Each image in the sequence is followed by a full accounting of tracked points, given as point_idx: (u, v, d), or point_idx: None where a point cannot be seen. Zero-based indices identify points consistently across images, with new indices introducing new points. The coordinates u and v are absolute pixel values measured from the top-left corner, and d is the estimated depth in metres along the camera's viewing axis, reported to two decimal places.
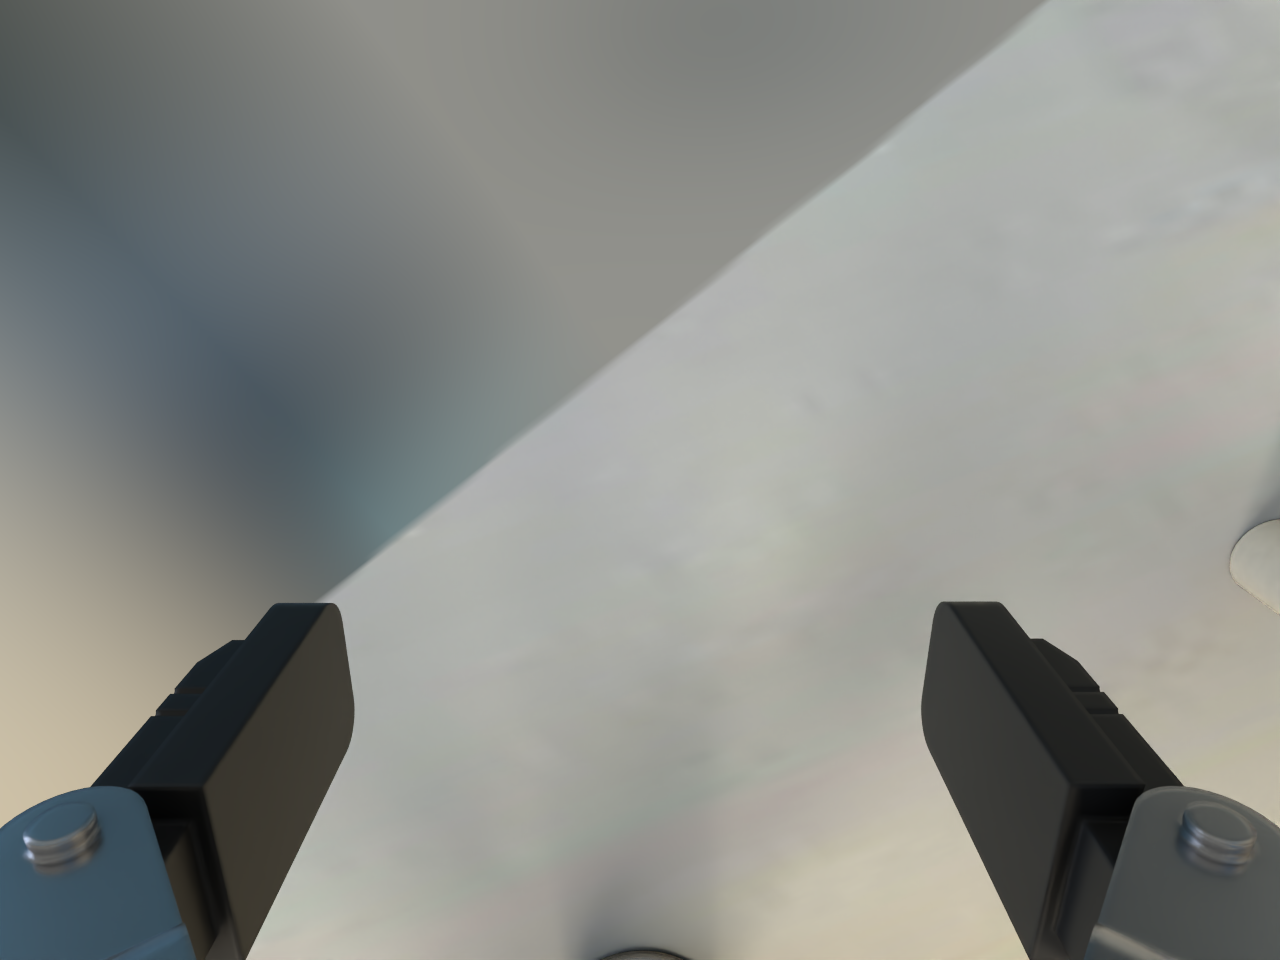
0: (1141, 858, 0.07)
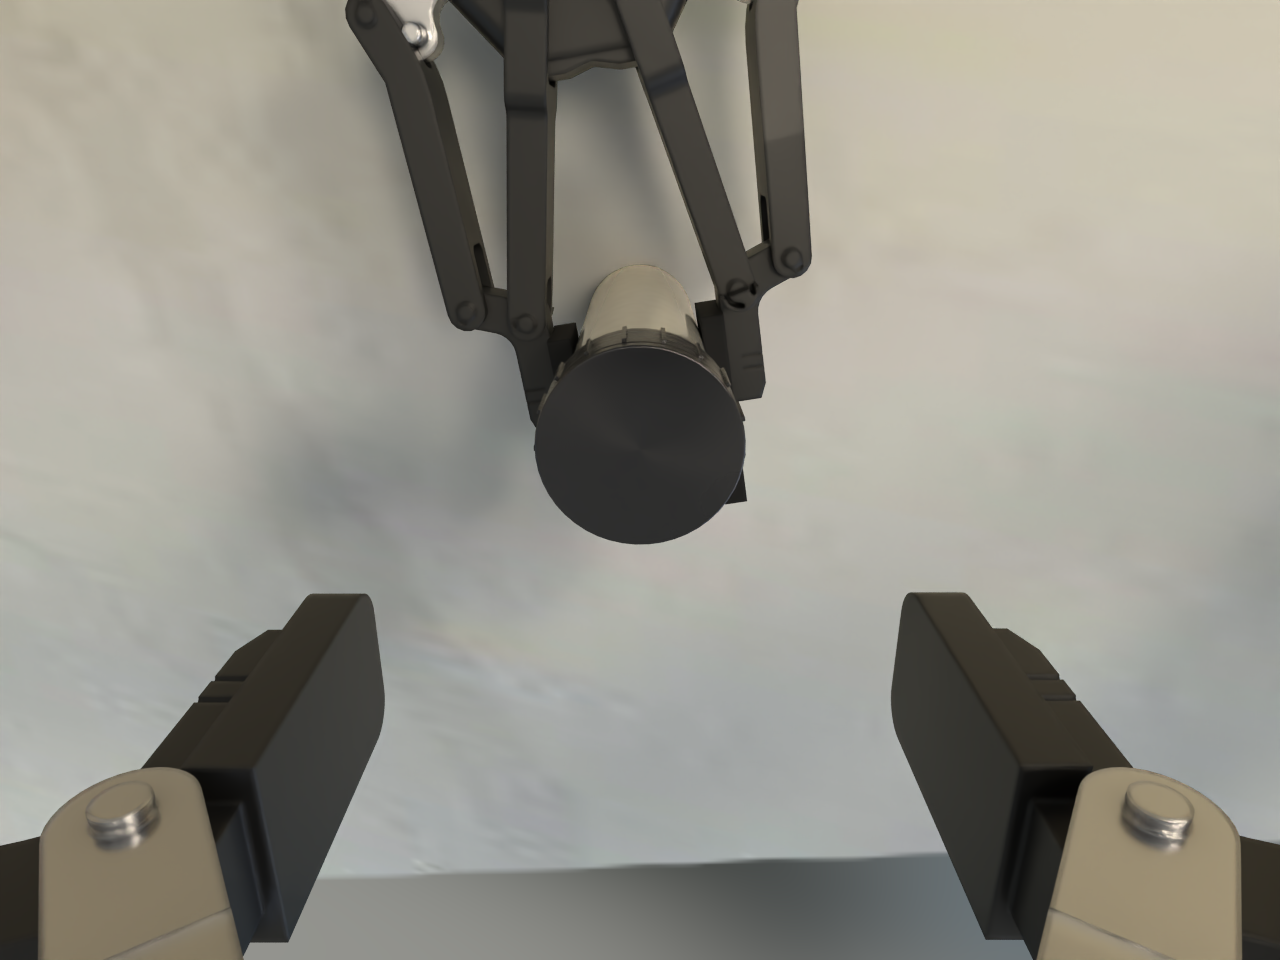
0: (1088, 839, 0.07)
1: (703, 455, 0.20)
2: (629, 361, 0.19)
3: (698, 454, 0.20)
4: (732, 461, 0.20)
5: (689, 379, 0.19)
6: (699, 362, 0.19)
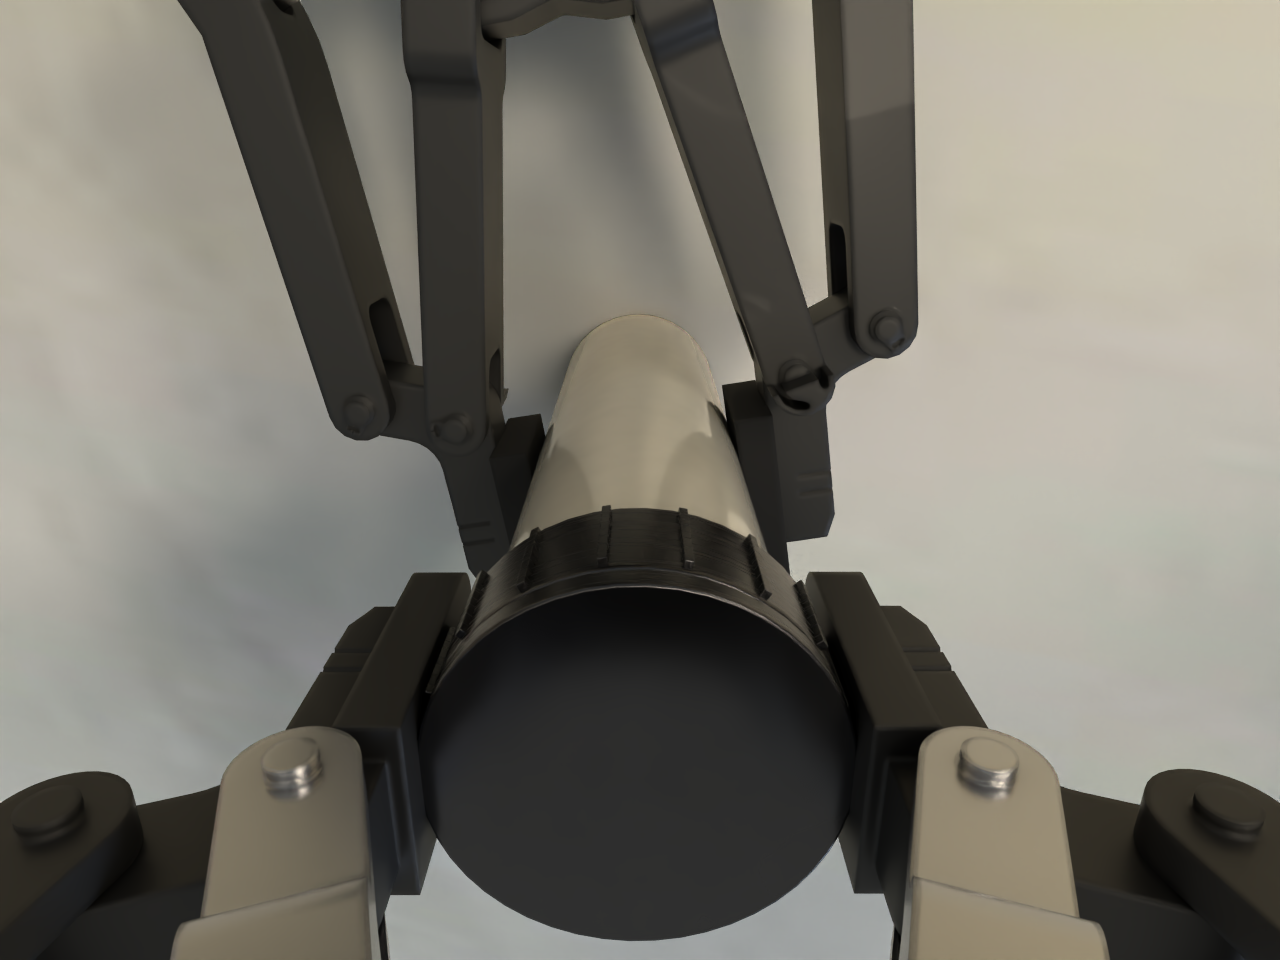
0: (934, 801, 0.07)
1: (769, 790, 0.09)
2: (613, 615, 0.09)
3: (759, 788, 0.09)
4: (829, 801, 0.09)
5: (744, 650, 0.09)
6: (766, 615, 0.09)
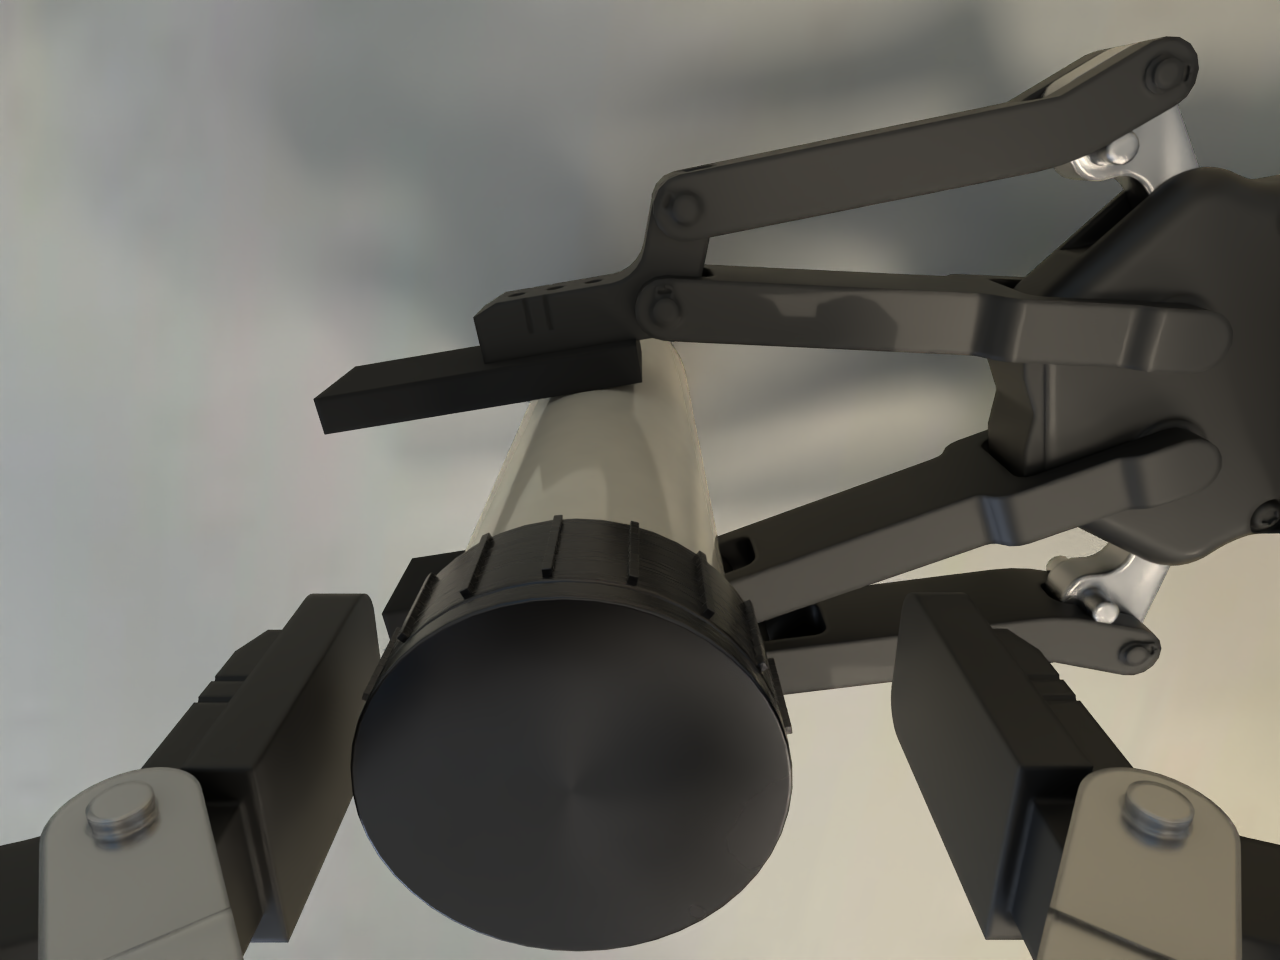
0: (1087, 840, 0.07)
1: (702, 768, 0.09)
2: (482, 642, 0.09)
3: (692, 769, 0.09)
4: (766, 763, 0.09)
5: (619, 641, 0.09)
6: (628, 601, 0.09)
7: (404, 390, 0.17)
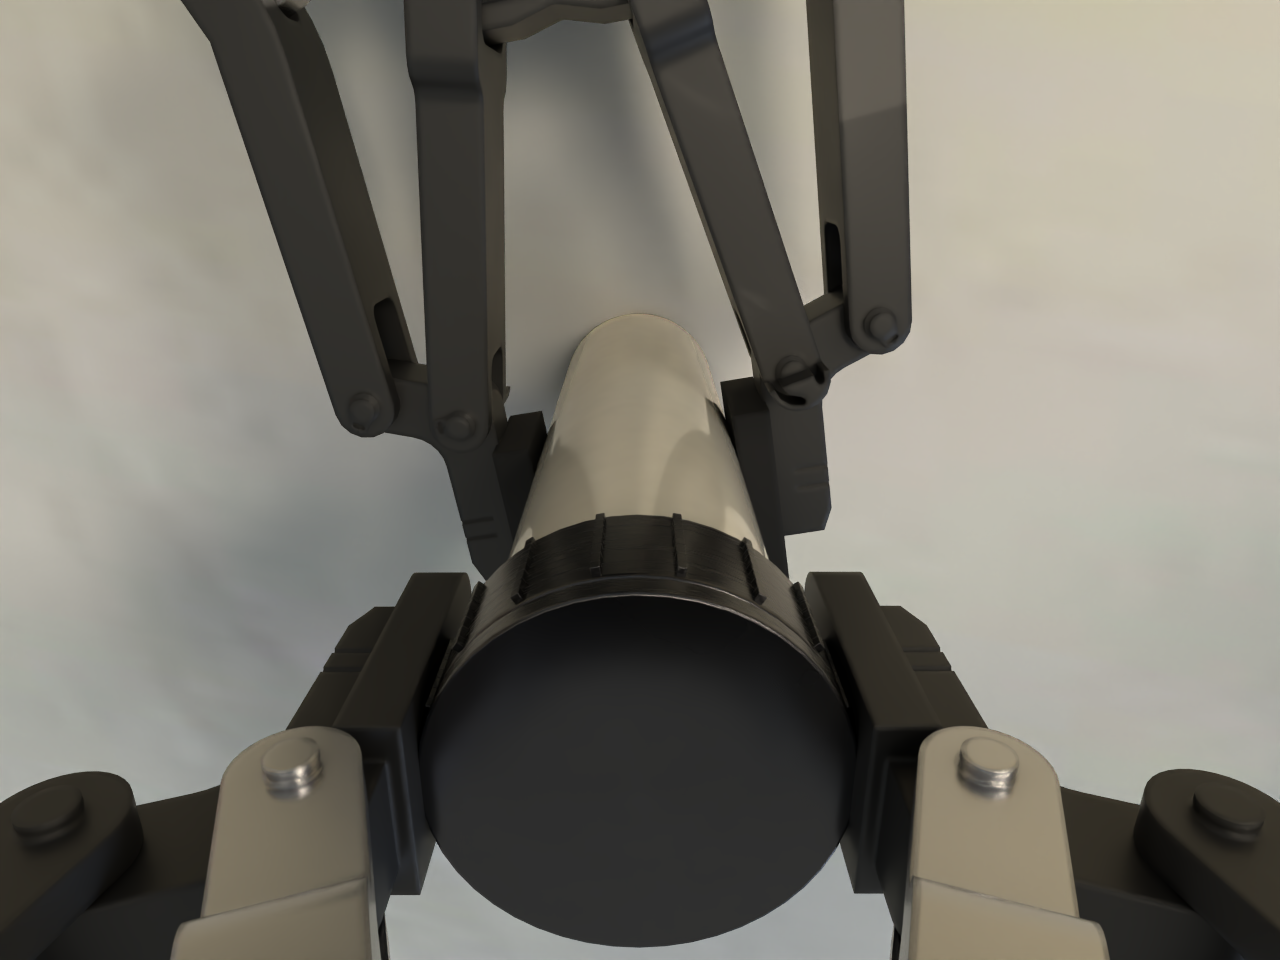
0: (933, 802, 0.07)
1: (608, 677, 0.09)
2: (471, 847, 0.10)
3: (609, 686, 0.09)
4: (600, 619, 0.09)
5: (459, 748, 0.09)
6: (422, 735, 0.09)
7: None
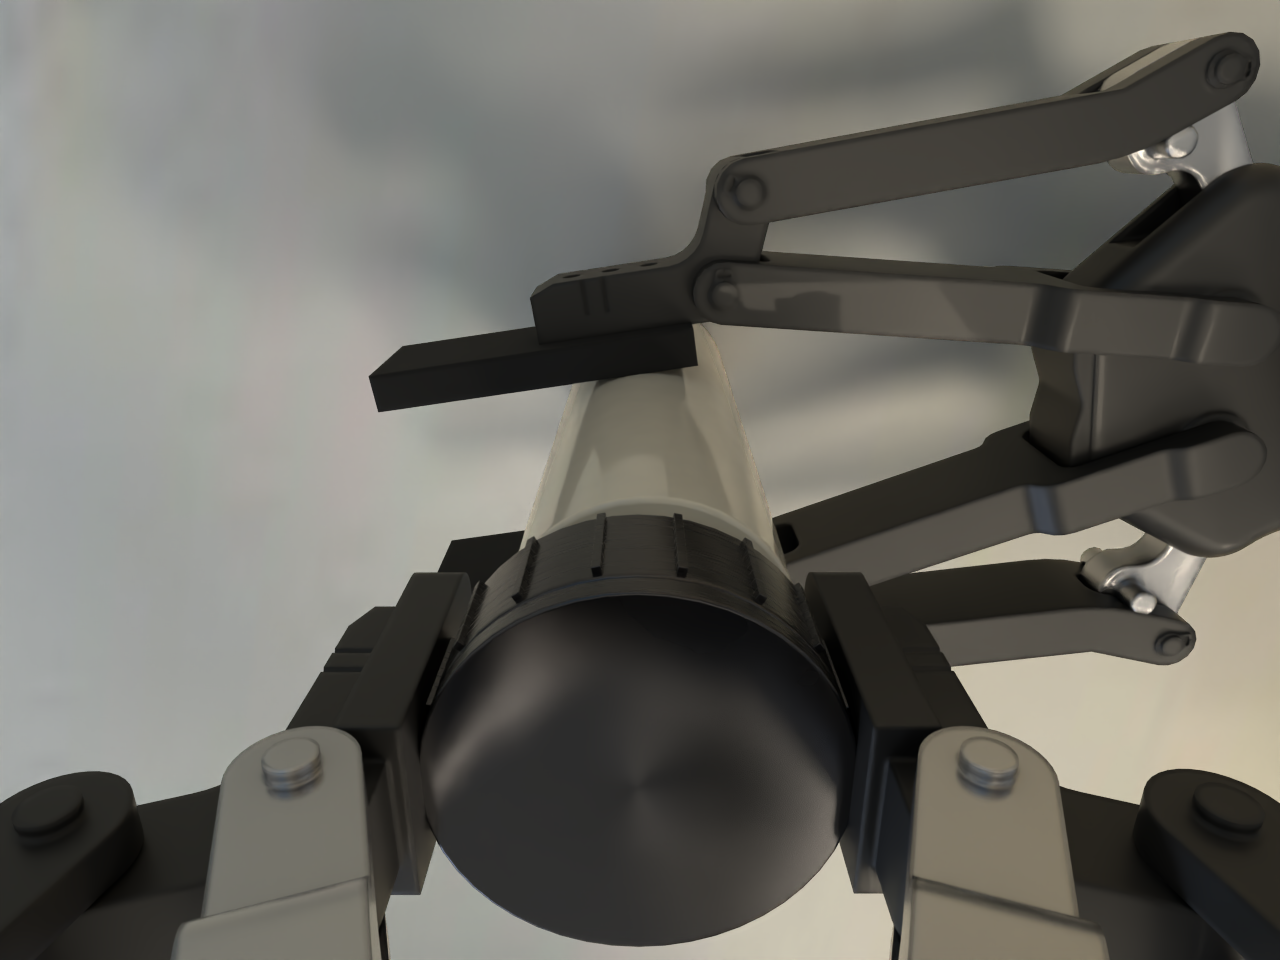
0: (933, 801, 0.07)
1: (608, 676, 0.09)
2: (471, 846, 0.10)
3: (610, 685, 0.09)
4: (601, 618, 0.09)
5: (460, 747, 0.09)
6: (422, 733, 0.09)
7: (460, 368, 0.17)
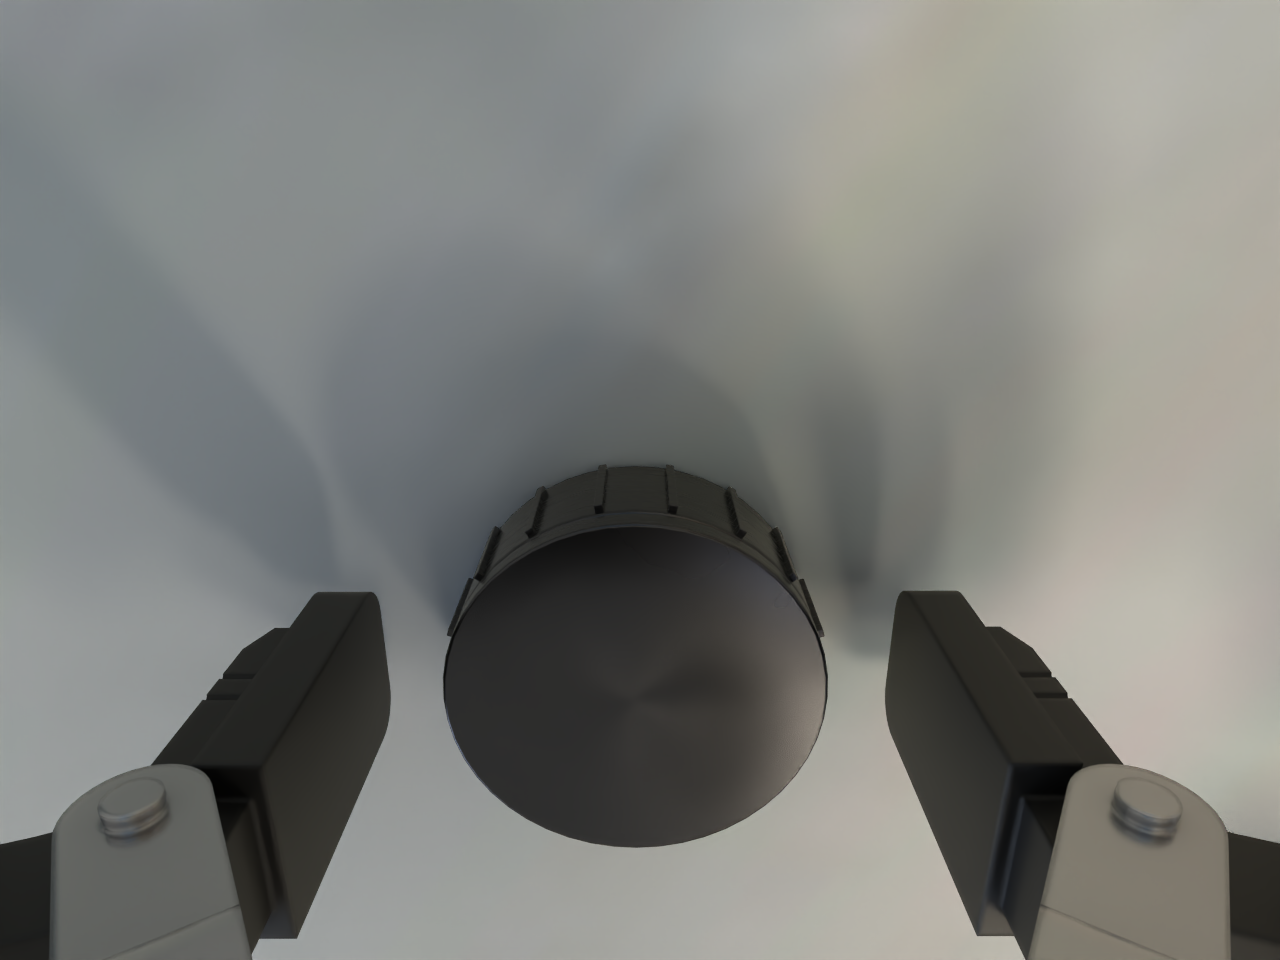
0: (1077, 836, 0.07)
1: (609, 599, 0.10)
2: (489, 754, 0.11)
3: (610, 607, 0.10)
4: (603, 547, 0.10)
5: (480, 663, 0.11)
6: (448, 652, 0.11)
7: None
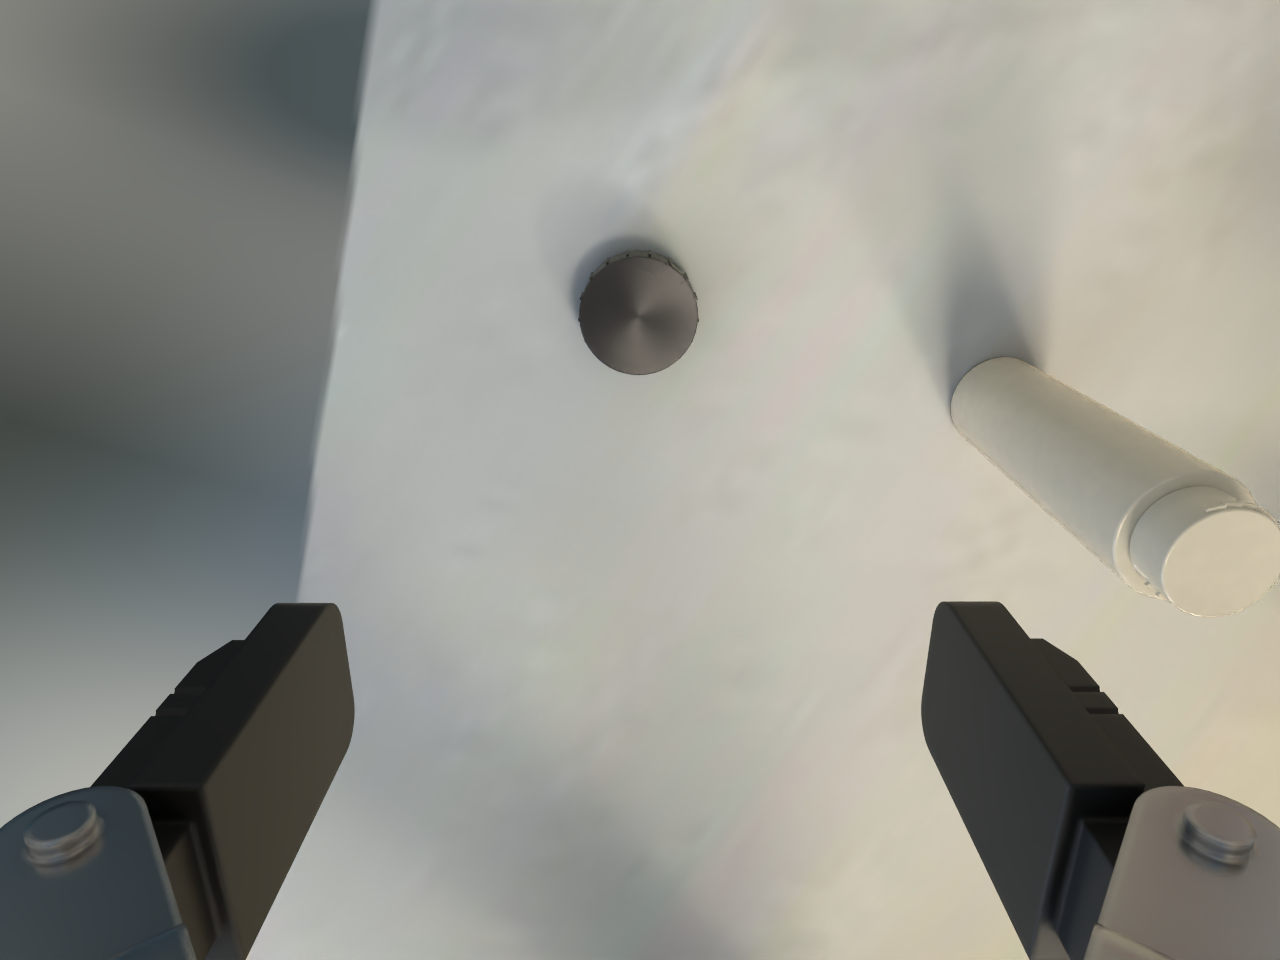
0: (1141, 858, 0.07)
1: (630, 281, 0.34)
2: (592, 337, 0.35)
3: (631, 284, 0.34)
4: (629, 264, 0.34)
5: (591, 303, 0.35)
6: (581, 301, 0.35)
7: None
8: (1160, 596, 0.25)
